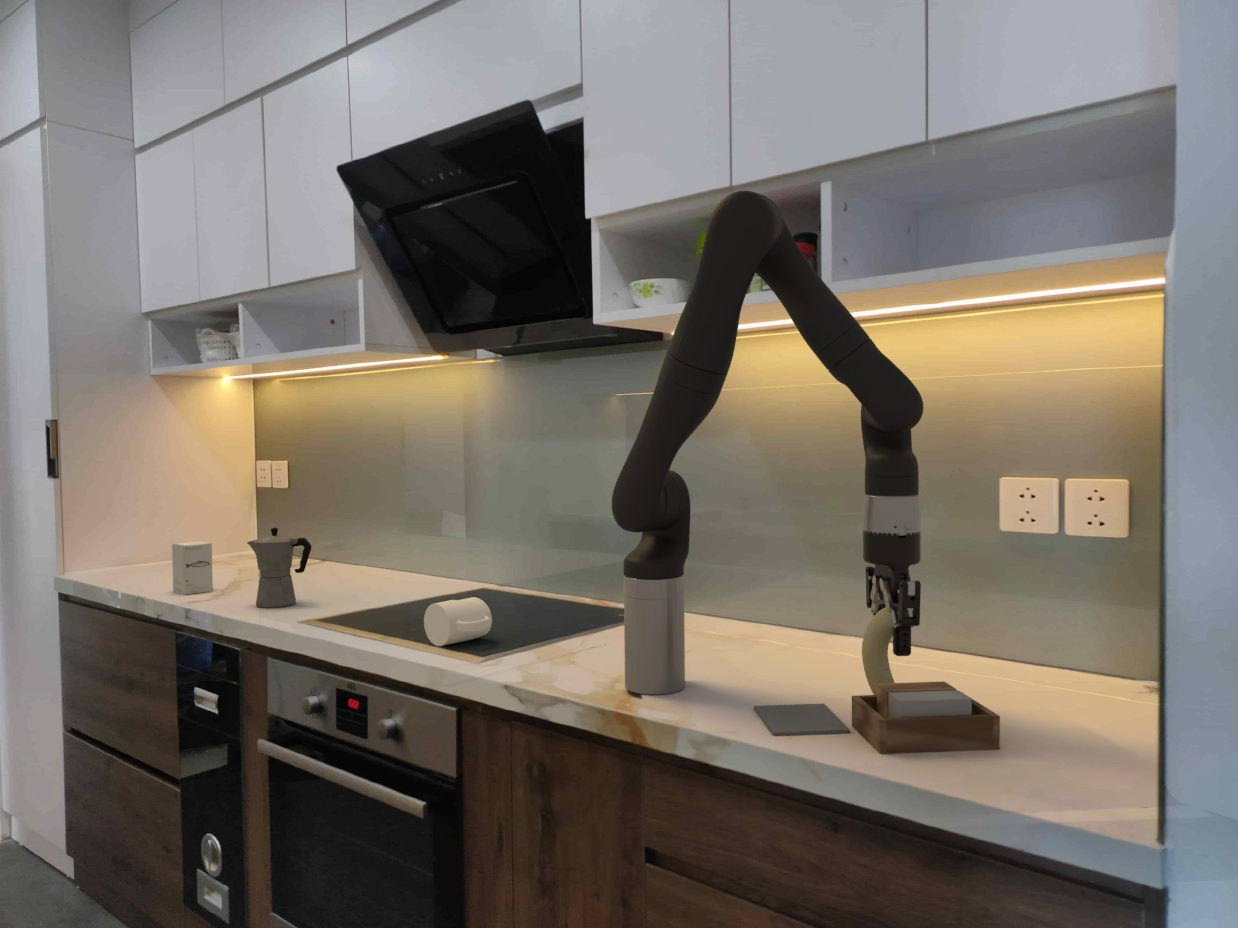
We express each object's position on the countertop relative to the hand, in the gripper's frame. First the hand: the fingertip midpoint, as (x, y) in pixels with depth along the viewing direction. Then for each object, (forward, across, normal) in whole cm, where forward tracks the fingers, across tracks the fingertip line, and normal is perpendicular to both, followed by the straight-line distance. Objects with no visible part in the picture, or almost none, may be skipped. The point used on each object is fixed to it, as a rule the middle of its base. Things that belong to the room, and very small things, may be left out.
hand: (891, 648), depth 119 cm
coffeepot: (+9, -92, -111) cm, 145 cm away
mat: (+9, +2, -14) cm, 16 cm away
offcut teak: (+9, +8, 0) cm, 12 cm away
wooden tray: (+9, +10, 0) cm, 13 cm away
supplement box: (+9, -112, -139) cm, 179 cm away
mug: (+9, -48, -64) cm, 81 cm away
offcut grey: (+9, +12, 0) cm, 15 cm away
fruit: (+9, 0, 0) cm, 9 cm away
